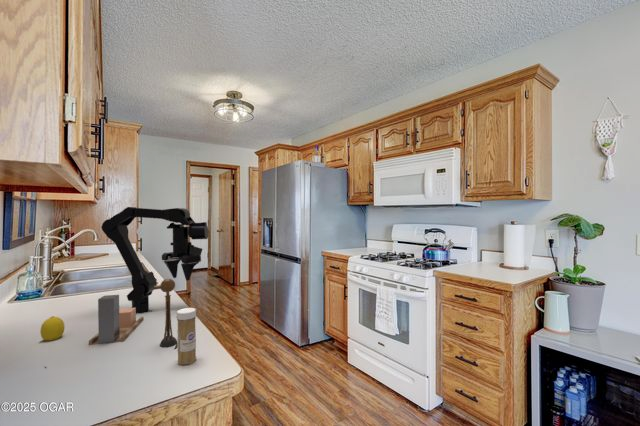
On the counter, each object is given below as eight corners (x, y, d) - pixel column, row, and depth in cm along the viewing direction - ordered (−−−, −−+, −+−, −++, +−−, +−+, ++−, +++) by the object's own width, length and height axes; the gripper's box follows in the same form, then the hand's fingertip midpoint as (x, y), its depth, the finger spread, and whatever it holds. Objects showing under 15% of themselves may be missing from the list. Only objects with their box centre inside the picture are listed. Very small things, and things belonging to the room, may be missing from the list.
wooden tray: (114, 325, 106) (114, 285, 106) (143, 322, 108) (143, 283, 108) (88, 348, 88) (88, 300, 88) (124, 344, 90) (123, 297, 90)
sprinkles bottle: (187, 366, 76) (186, 313, 77) (173, 363, 78) (172, 311, 78) (200, 358, 81) (199, 308, 81) (187, 356, 82) (186, 306, 82)
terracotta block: (119, 323, 105) (119, 309, 105) (135, 321, 106) (135, 307, 106) (113, 328, 100) (113, 313, 100) (130, 327, 101) (130, 312, 101)
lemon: (37, 344, 92) (36, 317, 92) (59, 337, 97) (59, 312, 97) (45, 347, 89) (45, 320, 89) (68, 340, 94) (67, 314, 94)
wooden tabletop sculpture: (156, 354, 84) (155, 281, 84) (153, 348, 87) (152, 279, 87) (179, 348, 87) (178, 278, 87) (176, 343, 91) (175, 276, 91)
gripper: (212, 239, 122) (213, 278, 122) (186, 237, 132) (186, 273, 132) (186, 241, 113) (187, 283, 113) (160, 239, 123) (161, 278, 123)
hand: (181, 279), depth 120 cm, fingers open, 9 cm apart
